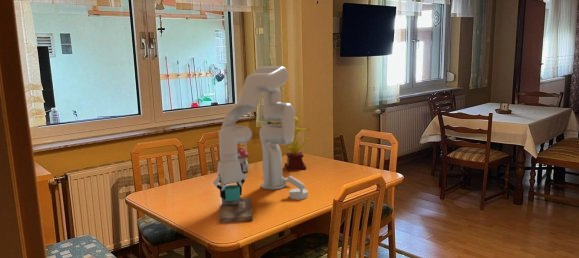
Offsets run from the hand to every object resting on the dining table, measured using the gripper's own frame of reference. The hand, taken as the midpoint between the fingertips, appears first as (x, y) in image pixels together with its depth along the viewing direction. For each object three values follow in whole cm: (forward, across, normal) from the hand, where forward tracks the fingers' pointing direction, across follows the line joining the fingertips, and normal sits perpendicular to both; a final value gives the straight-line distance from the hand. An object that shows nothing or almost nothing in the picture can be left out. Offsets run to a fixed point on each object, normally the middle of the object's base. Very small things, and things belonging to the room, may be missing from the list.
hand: (231, 196), depth 196 cm
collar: (+1, 0, 0) cm, 1 cm away
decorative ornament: (+5, -33, -48) cm, 59 cm away
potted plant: (+5, -61, -36) cm, 71 cm away
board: (+5, +1, +6) cm, 8 cm away
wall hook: (+5, -31, +7) cm, 32 cm away
